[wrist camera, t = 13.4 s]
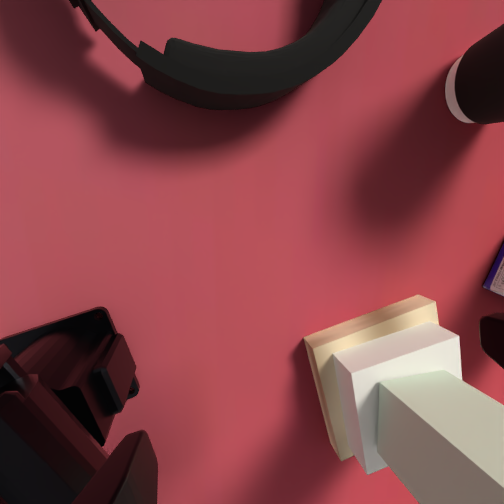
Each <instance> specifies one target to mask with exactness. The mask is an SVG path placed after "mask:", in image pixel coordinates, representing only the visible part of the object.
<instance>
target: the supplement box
mask: <svg viewBox="0 0 504 504" xmlns="http://www.w3.org/2000/svg"><path fill="white" fill-rule="evenodd" d="M483 287H484V288H486V289H488V290H490V291H492V292H494V293H497V294H499V295H501V296H503V297H504V243H503V246H502V248H501V250H500V252H499V254H498V256H497V258H496V260H495V263H494V265H493V267H492V269H491V271H490V273H489V275H488V277H487V279H486V281H485V283H484V285H483Z"/></svg>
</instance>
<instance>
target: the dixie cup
mask: <svg viewBox="0 0 504 504" xmlns="http://www.w3.org/2000/svg"><path fill="white" fill-rule="evenodd" d="M445 97H446V102H447V105H448V107H449V109H450V111H451V113H452V114H453V115H454V116H455V117H456V118H457V119H458V120H460V121H462V122H465V123H479V124H491V123H498V122H504V24H503V25H501V26H500V27H498V28H497V29H495V30H494V31H493V32H491V33H490V34H488V35H487V36H485V37H484V38H482V39H481V40H479V41H478V42H476V43H475V44H474V45H472V46H471V47H470V48H469V49H468V50H467V51H466V53H465V54H464V55H463V56H461V57H460V58H459V59H458V60H457V61H456V62H455V63H454V64H453V66H452V67H451V69H450V71H449V73H448V76H447V79H446V84H445Z"/></svg>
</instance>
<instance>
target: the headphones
mask: <svg viewBox="0 0 504 504" xmlns="http://www.w3.org/2000/svg"><path fill="white" fill-rule="evenodd" d="M69 1H70V3H71V4H72V6H73V8H76V7H78V6H79V7H80V9H81V10H82V12H83V13H84V15H85V16H86V18H87V19H88V21H89V22H90V24H91V25H92V27H93V28H94V29H95V31H97V30H98V29H101V30H102V31H103V32H104V33H105V34H106V36H107V37H108V38H109V39H110V40H111V41H112V42H113V43H114V44H115V45H116V47H117V48H118V49H119V50H120V51H121V52H122V53H123V54H125V55H126V56H127V57H128V58H129V59H130V60H131V61H132V62H133V63H134V64H135V65H137V66H138V67H139V68H140V69H141V71H142V74H143V77H144V80H145V82H146V83H147V84H149V85H151V86H152V87H154V88H156V89H157V90H159V91H161V92H163V93H165V94H167V95H169V96H171V97H173V98H175V99H178V100H180V101H183V102H186V103H188V104H191V105H194V106H196V107H201V108H206V109H214V110H238V109H246V108H252V107H257V106H261V105H263V104H266V103H269V102H271V101H274V100H276V99H278V98H280V97H282V96H284V95H286V94H287V93H289V92H291V91H292V90H294V89H295V88H297V87H298V86H300V85H302V84H303V83H305V82H306V81H308V80H310V79H311V78H313V77H314V76H316V75H317V74H319V73H320V72H321V71H323V70H324V69H326V68H327V67H328V66H330V65H331V64H333V63H334V62H335V61H336V60H337V59H338V58H339V57H340V56H342V55H343V54H344V53H345V51H346V50H347V49H348V48H349V47H350V46H351V45H352V44H353V43H354V41H355V40H356V39H357V38H358V37H359V35H360V34H361V33H362V31H363V30H364V29H365V27H366V26H367V24H368V23H369V22H370V20H371V19H372V18H373V16H374V14H375V12H376V10H377V9H378V7H379V5H380V3H381V1H382V0H324V2H323V5H322V7H321V10H320V12H319V15H318V17H317V18H316V20H315V22H314V23H313V25H312V27H311V28H310V30H309V31H308V32H307V34H306V35H305V36H304V37H302V38H300V39H299V40H297V41H296V42H294V43H291V44H289V45H287V46H284V47H282V48H279V49H274V50H270V51H266V52H242V51H230V50H218V49H214V48H210V47H206V46H202V45H197V44H193V43H190V42H187V41H184V40H181V39H177V38H170V39H169V40H168V41H167V43H166V46H165V51H164V54H162V53H160V52H159V51H157V50H155V49H154V48H152V47H151V46H149V45H147V44H146V43H144V42H142V41H140V44H139V47H136V46H135V45H134V44H133V43H132V42H130V41H129V40H128V39H127V38H126V37H125V36H124V35H123V34H122V33H121V32H120V31H119V30H118V29H117V28H116V27H115V26H114V25H113V24H112V23H111V22H110V21H109V20H108V19H107V18H106V17H105V16H104V15H103V14H102V13H101V11H100V10H99V9H98V8H97V7H96V6H95V5H94V4H93V3H92V1H91V0H69Z"/></svg>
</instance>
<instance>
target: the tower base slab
mask: <svg viewBox="0 0 504 504" xmlns="http://www.w3.org/2000/svg"><path fill="white" fill-rule="evenodd" d="M428 321H431V322H433V323H435V324H437V325H439V323H438V315H437V308H436V302H435V301H433V300H430V299H428V298H426V297H423V296H421V295H416V296H413V297H410V298H408V299H405V300H402V301H399V302H397V303H394V304H391V305H389V306H386V307H383V308H381V309H378V310H375V311H373V312H370V313H367V314H365V315H362V316H359V317H356V318H354V319H351V320H348V321H346V322H343V323H340V324H338V325H335V326H332V327H330V328H327V329H324V330H322V331H319V332H316V333H313V334H311V335H308V336H305V337H303V338H304V342H305V346H306V350H307V354H308V357H309V361H310V365H311V369H312V373H313V377H314V381H315V385H316V389H317V393H318V397H319V400H320V404H321V408H322V412H323V416H324V420H325V424H326V428H327V432H328V436H329V440H330V443H331V445H332V447H333V448H334V450H335V452H336V454H337V455H338V457H339V459H340V460H341V461H343V460H345V459H347V458H349V457H352V456H354V454H353V452H352V451H351V449H350V448H349V446H348V442H347V436H346V430H345V425H344V419H343V413H342V407H341V401H340V395H339V389H338V384H337V378H336V372H335V366H334V360H333V354H332V353H335V352H338V351H341V350H344V349H347V348H350V347H353V346H356V345H359V344H362V343H365V342H368V341H371V340H374V339H377V338H380V337H383V336H386V335H389V334H392V333H395V332H398V331H401V330H404V329H407V328H410V327H413V326H416V325H419V324H422V323H425V322H428Z"/></svg>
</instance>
